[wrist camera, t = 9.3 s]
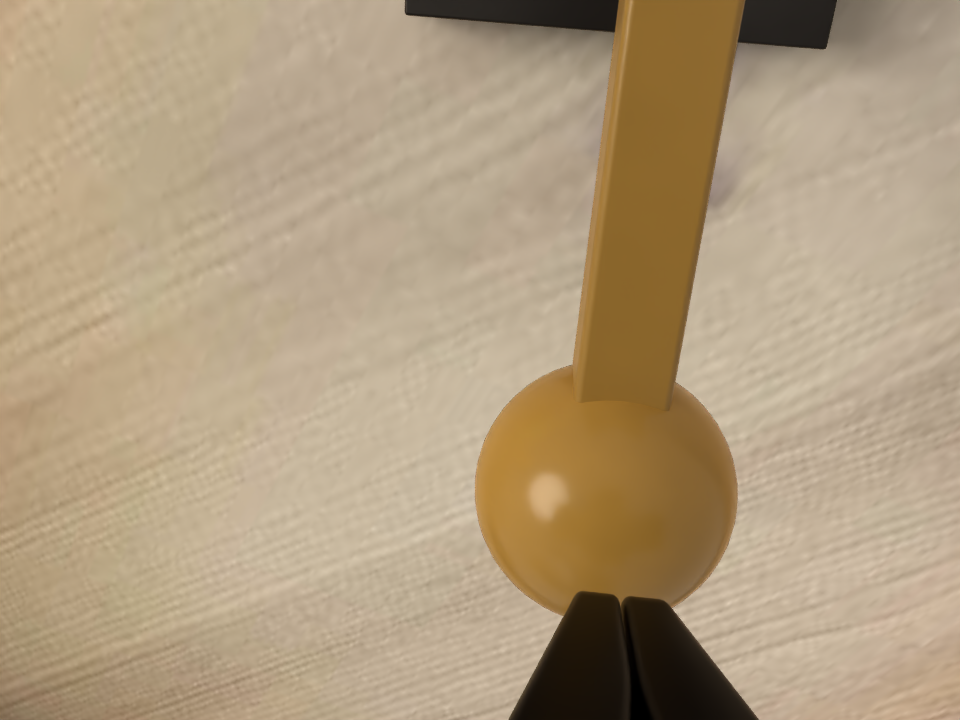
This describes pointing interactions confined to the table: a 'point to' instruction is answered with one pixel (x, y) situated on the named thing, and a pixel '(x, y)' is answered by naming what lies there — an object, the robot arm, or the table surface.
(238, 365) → the table surface
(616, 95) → the orange ball-ended lever
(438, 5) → the bracket
